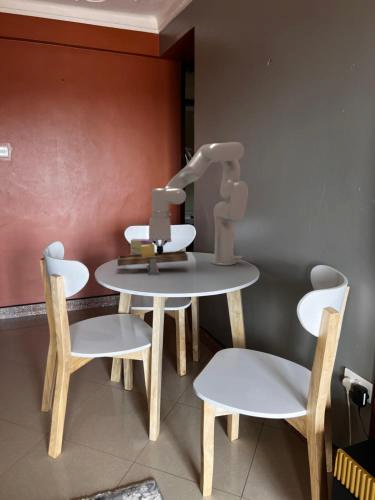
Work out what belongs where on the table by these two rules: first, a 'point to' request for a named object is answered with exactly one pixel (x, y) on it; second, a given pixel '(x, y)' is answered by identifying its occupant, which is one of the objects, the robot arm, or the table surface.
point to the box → (138, 245)
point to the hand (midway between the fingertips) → (159, 254)
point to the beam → (163, 258)
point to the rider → (148, 250)
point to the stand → (153, 267)
